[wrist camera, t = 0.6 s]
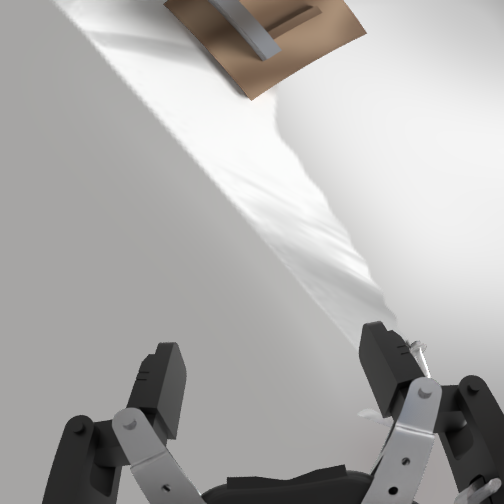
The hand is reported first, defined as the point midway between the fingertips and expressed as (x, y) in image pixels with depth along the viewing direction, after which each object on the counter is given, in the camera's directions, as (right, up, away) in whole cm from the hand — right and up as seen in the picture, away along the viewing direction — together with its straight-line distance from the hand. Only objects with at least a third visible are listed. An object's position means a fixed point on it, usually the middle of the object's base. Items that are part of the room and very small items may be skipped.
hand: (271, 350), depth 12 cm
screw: (+39, -18, +48) cm, 64 cm away
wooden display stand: (+1, +31, +12) cm, 33 cm away
